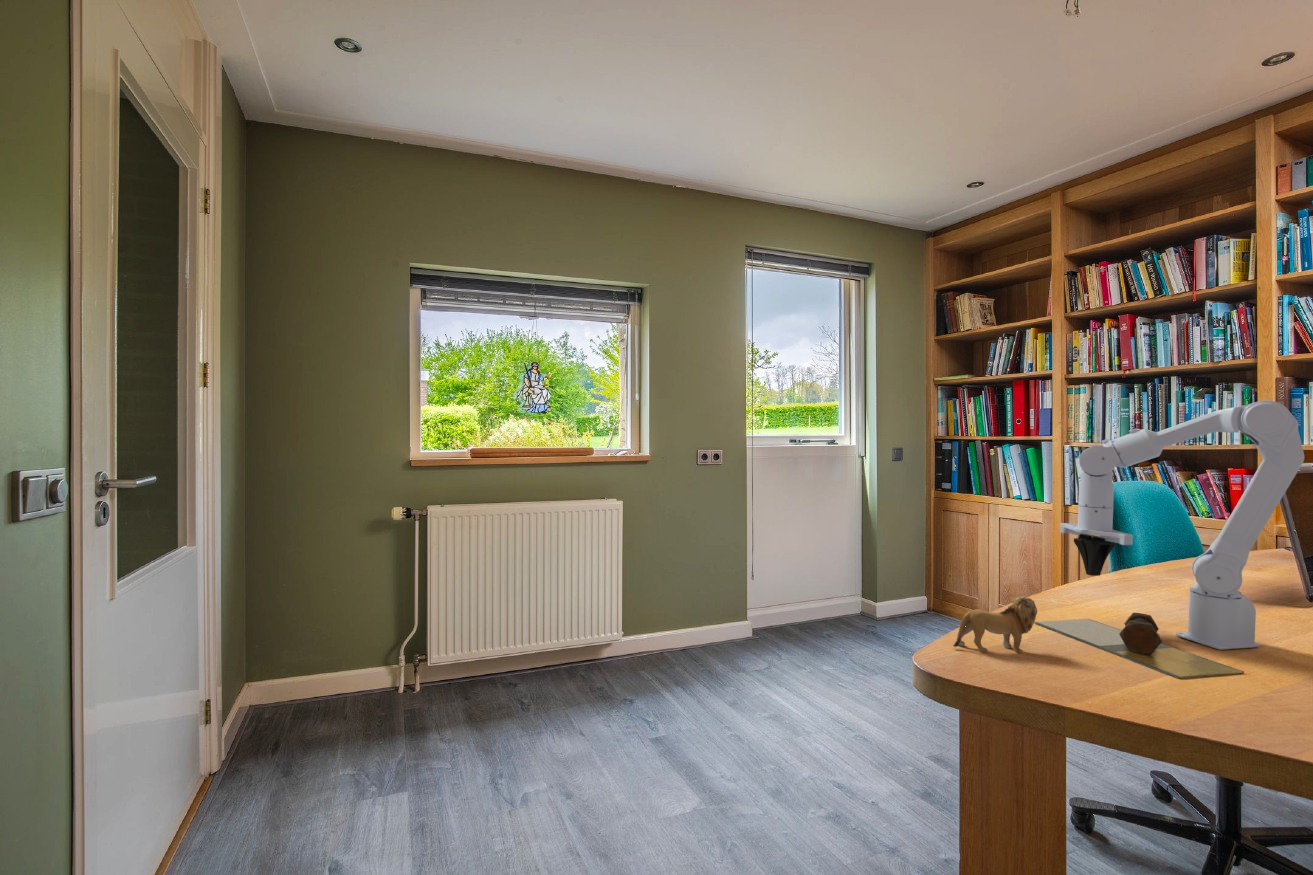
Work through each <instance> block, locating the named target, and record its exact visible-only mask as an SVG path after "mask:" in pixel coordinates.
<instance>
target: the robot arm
mask: <svg viewBox="0 0 1313 875" xmlns="http://www.w3.org/2000/svg"><path fill="white" fill-rule="evenodd" d="M1239 431H1240V432H1239ZM1128 432H1129V433H1127V434H1125V435H1122V436H1119V437H1116V438H1114V439H1111V440H1108V439H1107V438H1106V439H1103V440H1101V444H1102V445H1099V444H1098V445H1097V444H1095V445H1093V444H1092V445H1091V446H1089V447H1088V448H1086V449H1084V450H1083V451H1082V452H1081V453H1080V456H1079V459H1078V460H1079V461H1078V462H1079V466H1080V468H1081V469H1082V470H1080V473H1079V479H1080V481H1079V483H1078V503H1077V504H1078V506H1077V508H1078V512H1077V523H1071V522H1070V523H1069V522H1060V527H1059V528H1060V529H1059V530H1060V531H1059V533H1062V534H1069V535H1070V534H1072V535H1076V536H1078V537H1076V538H1075V537H1074V538H1073V543H1074V545H1075V546H1076V548H1077V550H1078V552H1079V553H1080V556H1081V559H1082V562H1083V565H1084V569H1085V574H1086V575H1087V576H1091V577H1092V576H1093V577H1094V576H1098V577H1100V576H1101V574H1102V572H1103V568H1104V565H1105V562H1106V560H1107V558H1108V556H1109V555H1110V553H1111V552H1112V551H1113V549H1115V547H1116V543H1117V544H1119V545H1121V546H1133V544H1134V541H1133V540H1134V535H1133V534H1130V533H1126V532H1122V531H1119V530H1116V529H1114V528H1113V526H1114V525H1113V520H1114V519H1113V518H1114V500H1115V498H1114V497H1115V496H1114V494H1115V491H1114V490H1115V484H1114V483H1113V473H1114V472H1113V470H1114V468H1115V467H1116V468H1117V467H1118V468H1121V469H1123V468H1124V469H1125V468H1127V467H1130V466H1134V465H1136V464H1139V463H1143V462H1146V461H1150V460H1151V459H1155V458H1158V457H1160V456H1161V454H1162V452H1163V450H1164V448H1165V447H1168V446H1172V445H1175V444H1178V443H1182V442H1185V441H1188V440H1191V439H1196V438H1199V437H1203V436H1206V435H1209V434H1211V433H1217V432H1218V433H1231V434H1232V433H1242V434H1243V435H1244V436H1246V437H1247V438H1248V439H1249V440H1250V441H1252V443H1253V444H1254V446H1255V448H1256V449H1257V451H1258V452H1259V454H1260V456H1261V457H1262V460H1261V463H1260V464H1259V466H1258V468H1257V469H1256V471H1255V473H1254V474H1253V476H1252V478H1251V479H1250V481H1249V483H1248V485H1247V486H1246V488H1245V490H1244V492H1243V493H1242V495H1241V497H1240V498H1239V500H1238V502H1237V504H1236V506H1235V507H1234V509H1233V511H1232V512H1231V514H1230V515H1229V517H1228V519H1227V521H1226V522H1225V524H1224V525H1223V527H1222V529H1221V531H1220V533H1219V534H1218V536H1217V537H1216V538H1215V540H1214V541H1213V542H1212V543H1211V544H1210V546H1209V547H1208V549H1207V550H1206V551H1205V552H1204V553H1202V554H1200V555H1198V556H1197V557H1196V558H1195V559H1194V560H1193V561H1192V565H1191V570H1192V574H1193V576H1194V577H1195V583H1194V584H1193V585H1190V586H1189V597H1188V598H1189V602H1188V624H1187V625H1188V627H1187V628H1188V629H1187V630H1188V631H1186V632H1185V631H1183V632H1176V633H1175V636H1176V637H1179V638H1182V639H1185V640H1189V641H1191V642H1194V643H1198V644H1200V645H1204V646H1207V647H1211V648H1214V649H1216V650H1221V651H1222V650H1233V649H1235V650H1236V649H1248V648H1260V647H1261V644H1260V643H1257V642H1255V639H1256V618H1257V617H1256V615H1257V611H1256V607H1255V605H1254V603H1253V602H1252V600H1251V599H1250V598H1249V597H1248V596H1246V595H1244V594H1243V593H1242V592H1241V591H1240V588H1241V587H1242V584H1243V570H1244V568H1245V566H1246V565H1247V562H1248V558H1249V555H1250V551H1251V550H1252V549H1253V546H1254V544H1255V543H1256V542H1257V539H1258V538H1259V537H1260V535H1261V533H1262V532H1263V530H1264V529H1265V526H1266V525H1267V523H1268V522H1269V520H1270V518H1271V517H1272V515H1273V513H1274V511H1275V510H1276V508H1277V506H1278V505H1279V503H1280V502H1281V500H1282V499H1283V497H1284V495H1285V493H1286V492H1287V490H1288V488H1289V487H1290V485H1291V483H1292V482H1293V480H1295V479H1294V478H1295V477H1296V475H1297V474H1298V472H1299V470H1300V468H1301V467H1302V465H1303V464H1304V461H1305V454H1304V449H1303V444H1302V440H1301V436H1300V431H1299V422H1298V420H1297V419H1296V417H1295V416H1294V415H1293V414H1292V413H1291V412H1290V410H1289V409H1288V408H1287V407H1286V406H1285V405H1284V404H1282V403H1280V402H1277V401H1273V400H1259V401H1256V402H1252V403H1249V404H1246V405H1245V404H1244V405H1239V406H1234V407H1229V408H1224V409H1219V410H1215V411H1212V412H1209V413H1206V414H1204V415H1201V416H1198V417H1195V418H1192V419H1190V420H1187V421H1184V422H1182V423H1179V424H1176V425H1173V426H1171V427H1168V428H1164V429H1162V430H1159V431H1152V430H1150V429H1147V428H1143V429H1139V430H1138V428H1132V429H1130V430H1128Z"/></svg>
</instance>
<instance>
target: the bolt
mask: <svg viewBox="0 0 1313 875" xmlns="http://www.w3.org/2000/svg"><path fill="white" fill-rule="evenodd" d="M1121 630H1122V631H1121V632H1120V634H1119V635H1120V637H1121V638H1122V640H1123V642H1124V644H1125V645H1126V647H1127V648H1128V650H1129V651H1132V652H1136V653H1141V654H1148V655H1151V654H1152V653H1153V652H1154V651H1155V650H1156V648H1157V647H1158V646H1159V645H1160V644H1161V643H1163V640H1162V637H1161V636H1160V635H1159V633H1158V631H1159V627H1158V625H1157V623H1156V622H1155V620H1154V618H1153V617H1152V616H1151V614H1146V613H1141V612H1132V613H1131V615H1130V616H1129V617H1128V618H1127V619H1126V620H1125V622H1124V627H1123V628H1122V629H1121Z"/></svg>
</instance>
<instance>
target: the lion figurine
mask: <svg viewBox="0 0 1313 875" xmlns="http://www.w3.org/2000/svg"><path fill="white" fill-rule="evenodd" d="M1011 601H1012V603H1011V604H1009V605H1008V606H1007V608H1005V609H1004V610H1003V611H1000V612H992V611H991V612H990V611H986V610H983V609H978V608H977V609H976V608H975V609H973V610H972V609H971V610H969V611H967V612H966V613H965V614H964V615H963V617H962V618H961V619H962V620H961V622H960V625H959V629H958V631H957V635H956V641H955V643H954V644H953V645H952V646H953V647H958V646H962V647H964V646H965V645H966V642H964V641H963V640H962V639H963V637H964V636H965V635H967V634H969V633H971V632H972V631H973V633H974V640H973V643H974V645H975V646H976V647H977V649H978V650H979V651H980V652H981V653H988V648H987V647H984V646H982V642H981V641H982V639H983V636H984V634H985V630H986V631H987V632H989V633H991V634H995V635H1003V642H1002V645H1003V647H1004V648H1005V649H1011V647H1012V644H1010V642H1011V641H1010V637H1011V636H1012V638H1013V647H1012V648H1013V649H1014V652H1015V653H1017V654H1020V653H1022V654H1024V650H1023V649H1021V648H1020V647H1021V642H1022V638H1023V634H1028V632H1030V631H1031V630H1032V629H1033V626H1034V625H1035V624H1034V622H1036V618H1037V615H1038V609H1037V606H1036V603H1035V601H1034V600H1033V599H1032V598H1030V597H1027V596H1023V595H1022V596H1019V597H1015V598H1013V599H1012V600H1011ZM965 626H966V627H965Z"/></svg>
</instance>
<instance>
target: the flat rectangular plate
mask: <svg viewBox="0 0 1313 875" xmlns="http://www.w3.org/2000/svg"><path fill="white" fill-rule="evenodd" d="M1033 625H1037V626H1039V627H1042V628H1045V629H1048V630H1051V631H1053V632H1055V633H1058V634H1061V635H1063V636H1066V637H1068V638H1071V639H1074V640H1077V641H1079V642H1082V643H1085V644H1087V645H1090V646H1092V647H1095V648H1098V649H1100V650H1102V651H1105V652H1107V653H1110V654H1114V655H1116V656H1118V657H1121V658H1124V659H1126V660H1128V661H1131V662H1133V663H1137V664H1139V665H1142V666H1144V667H1147V668H1148V669H1149V668H1150V669H1152V670H1155V671H1157V672H1159V673H1163V674H1166V675H1167V676H1170V677H1173V678H1175V679H1177V680H1178V679H1179V680H1180V679H1182V680H1183V679H1192V678H1205V677H1206V678H1207V677H1217V676H1229V675H1239V673H1241V674H1244V673H1245V671H1243V670H1240V669H1238V668H1235V667H1232V666H1230V665H1226V664H1223V663H1221V662H1217V661H1215V660H1212V659H1209V658H1205V657H1203V656H1199V655H1197V654H1194V653H1191V652H1188V651H1185V650H1183V649H1182V650H1181V649H1180V648H1176V647H1172V646H1170V645H1167V644H1165V643H1163V642H1161V644H1160V645H1159V646H1158V647H1157V648H1156V650H1155V651H1154V652H1153V653H1152V654H1151V655H1148V654H1141V653H1136V652H1132V651H1129V650H1128V648H1127V647H1126V645H1125V644H1124V642H1123V640H1122V638H1121V637H1120V635H1119V634H1120V632H1121V631H1122V630H1123V629H1120V628H1117V627H1115V626H1113V625H1112V626H1110V625H1108V624H1105V623H1104V622H1103V623H1102V622H1100V621H1097V620H1094V619H1091V618H1081V619H1080V618H1079V619H1078V618H1077V619H1063V620H1043V621H1035V622H1034V624H1033Z"/></svg>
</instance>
